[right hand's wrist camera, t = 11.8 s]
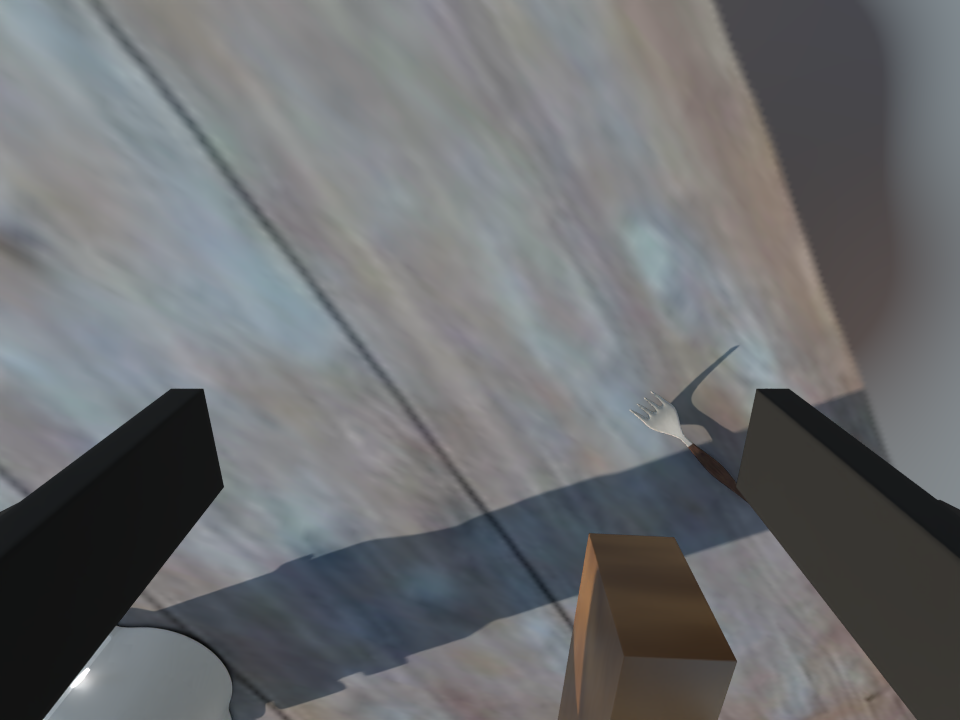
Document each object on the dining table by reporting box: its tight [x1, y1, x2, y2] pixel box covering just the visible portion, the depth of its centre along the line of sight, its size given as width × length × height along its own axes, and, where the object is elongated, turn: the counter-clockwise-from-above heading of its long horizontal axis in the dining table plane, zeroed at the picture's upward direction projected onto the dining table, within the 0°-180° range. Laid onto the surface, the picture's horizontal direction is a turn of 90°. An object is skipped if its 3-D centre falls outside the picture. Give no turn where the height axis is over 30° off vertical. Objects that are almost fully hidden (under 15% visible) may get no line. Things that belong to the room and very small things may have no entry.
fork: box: [630, 391, 747, 502], centre depth 43 cm, size 3×16×2 cm, turn 47°
